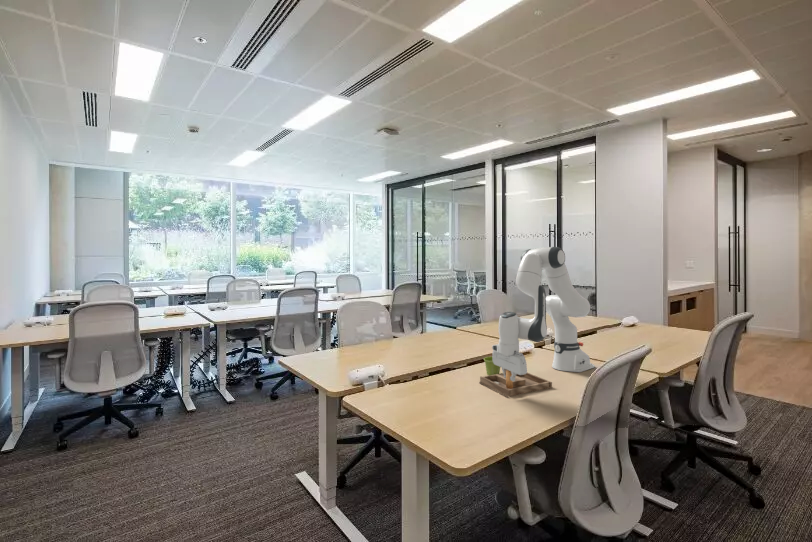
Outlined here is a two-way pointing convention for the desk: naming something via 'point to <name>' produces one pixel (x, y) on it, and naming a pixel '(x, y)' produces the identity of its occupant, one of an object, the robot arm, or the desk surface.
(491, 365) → the plant pot
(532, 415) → the desk surface
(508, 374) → the dowel
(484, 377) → the channel
